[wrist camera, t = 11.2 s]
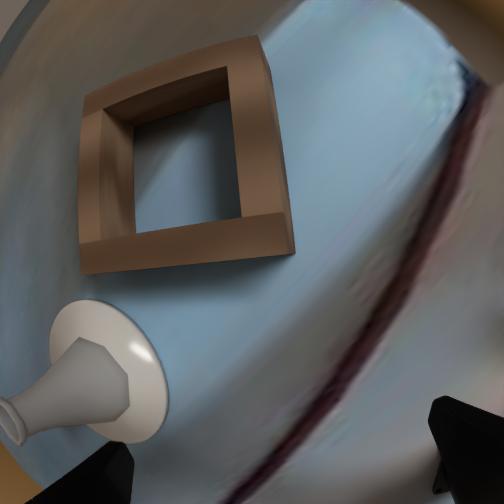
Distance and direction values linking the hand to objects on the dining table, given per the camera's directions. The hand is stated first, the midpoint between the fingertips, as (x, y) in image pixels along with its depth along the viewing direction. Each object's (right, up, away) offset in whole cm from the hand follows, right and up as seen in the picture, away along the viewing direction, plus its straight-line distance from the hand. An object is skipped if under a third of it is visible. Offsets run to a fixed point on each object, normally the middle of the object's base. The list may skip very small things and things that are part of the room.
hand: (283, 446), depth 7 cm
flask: (-13, -5, +14) cm, 20 cm away
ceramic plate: (-13, -5, +15) cm, 21 cm away
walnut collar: (-5, +11, +13) cm, 18 cm away
